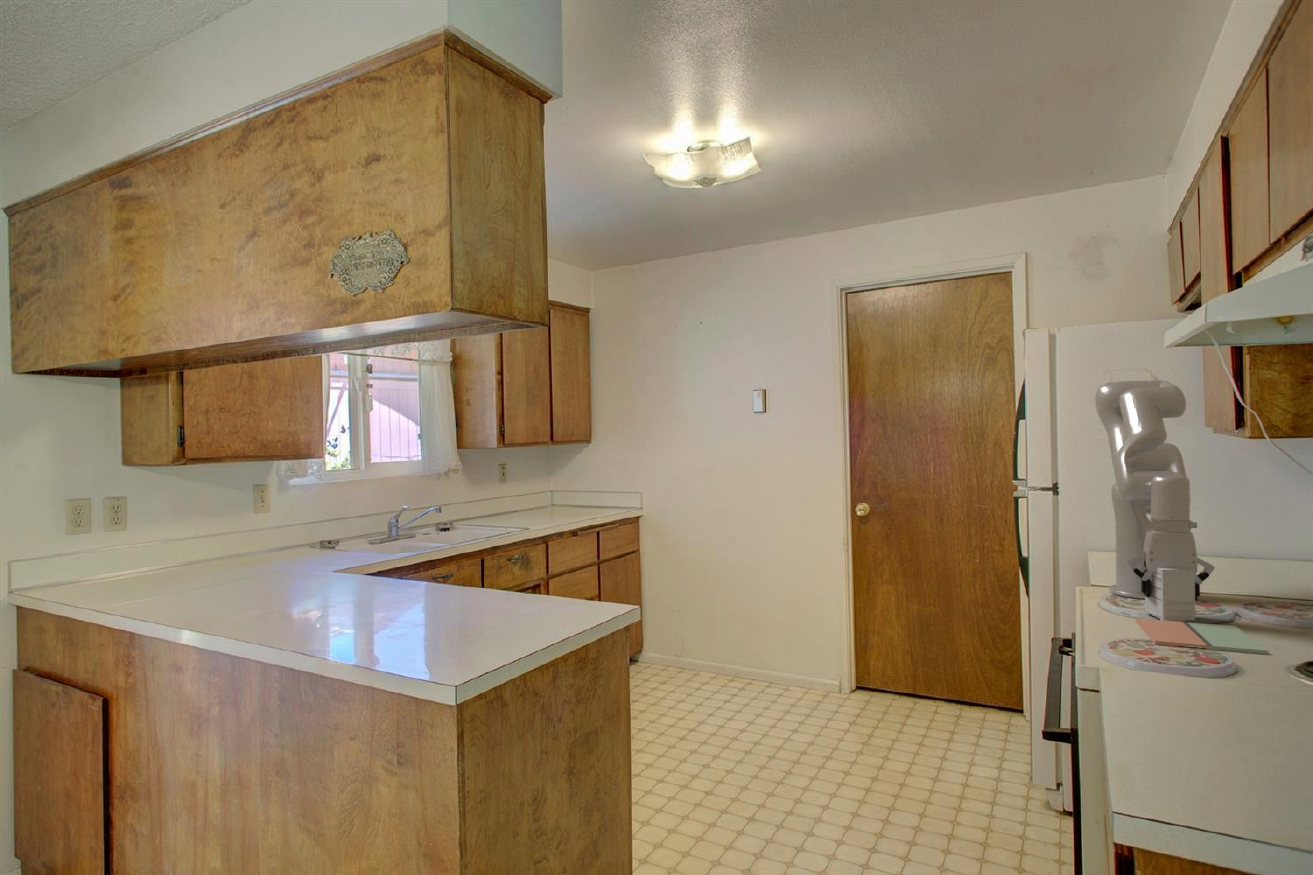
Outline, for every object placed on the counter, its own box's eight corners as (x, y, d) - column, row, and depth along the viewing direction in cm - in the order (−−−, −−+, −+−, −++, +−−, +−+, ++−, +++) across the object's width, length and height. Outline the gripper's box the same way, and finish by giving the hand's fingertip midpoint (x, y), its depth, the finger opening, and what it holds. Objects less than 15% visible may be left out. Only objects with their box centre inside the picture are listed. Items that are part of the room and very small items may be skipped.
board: (1135, 621, 166) (1135, 617, 166) (1235, 629, 159) (1235, 625, 158) (1155, 644, 150) (1155, 640, 150) (1267, 654, 142) (1267, 650, 142)
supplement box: (1175, 612, 172) (1176, 561, 171) (1196, 622, 164) (1196, 569, 164) (1143, 612, 172) (1144, 562, 172) (1162, 621, 165) (1162, 569, 164)
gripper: (1209, 525, 167) (1209, 596, 168) (1123, 522, 174) (1123, 590, 175) (1220, 530, 160) (1219, 604, 161) (1130, 527, 167) (1130, 598, 168)
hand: (1169, 597), depth 168 cm, fingers closed on supplement box, 8 cm apart
